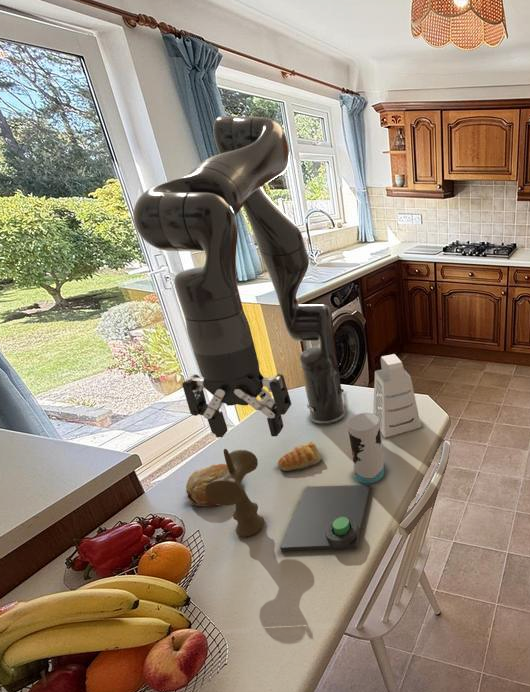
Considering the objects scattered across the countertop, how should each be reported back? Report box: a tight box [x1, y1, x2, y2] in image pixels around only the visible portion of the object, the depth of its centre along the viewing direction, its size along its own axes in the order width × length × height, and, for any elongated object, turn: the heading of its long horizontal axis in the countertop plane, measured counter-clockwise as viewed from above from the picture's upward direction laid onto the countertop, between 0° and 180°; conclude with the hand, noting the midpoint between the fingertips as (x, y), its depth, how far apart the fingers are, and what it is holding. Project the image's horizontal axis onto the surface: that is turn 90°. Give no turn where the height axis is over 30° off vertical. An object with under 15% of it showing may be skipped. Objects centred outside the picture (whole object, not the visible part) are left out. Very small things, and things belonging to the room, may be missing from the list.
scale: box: [279, 484, 372, 553], centre depth 83 cm, size 16×14×3 cm
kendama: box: [205, 448, 265, 538], centre depth 77 cm, size 6×10×20 cm, turn 8°
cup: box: [346, 412, 385, 485], centre depth 93 cm, size 7×7×15 cm
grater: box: [372, 353, 422, 438], centre depth 111 cm, size 10×10×20 cm
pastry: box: [277, 441, 322, 472], centre depth 98 cm, size 9×7×4 cm
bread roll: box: [185, 463, 227, 508], centre depth 89 cm, size 10×10×8 cm
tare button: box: [333, 517, 350, 536], centre depth 78 cm, size 3×3×2 cm
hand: (249, 434), depth 66 cm, fingers open, 8 cm apart
